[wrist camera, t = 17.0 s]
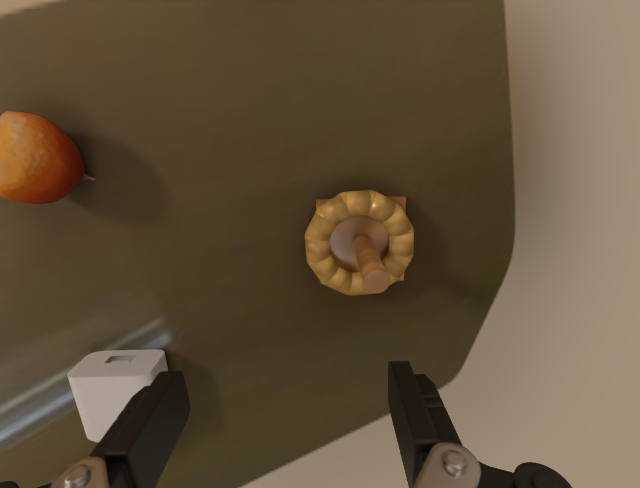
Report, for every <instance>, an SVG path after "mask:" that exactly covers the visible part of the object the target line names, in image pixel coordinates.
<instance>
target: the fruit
mask: <svg viewBox="0 0 640 488" xmlns="http://www.w3.org/2000/svg"><path fill="white" fill-rule="evenodd" d="M84 171H85V164H84V161H83V159H82V156H81V154H80V151H79V150H78V148H77V146H76V145H75V144H74V143H73V142H72V141H71V139H70V138H69V137H68V136H67V135H66V134H65V133H64V132H63V131H61V130H60V129H59V128H58V127H57V126H56V125H55V124H54V123H52V122H51V121H49V120H47V119H46V118H44V117H41V116H38V115H35V114H31V113H25V112H14V111H7V112H4V113H3V114H2V115H1V116H0V195H1V196H3V197H5V198H7V199H10V200H13V201H18V202H24V203H32V204H43V203H51V202H55V201H57V200H59V199H61V198H63V197H64V196H65V195H66V194H67V193H69V192H70V191H71V190H72V189H73V188H75V187H76V186H78V185H79V184H80V183H82V182H83V181H84V180H86V179H90V180H94V181H95V180H96V179H95V178H92V177H90V176H88V175H86V174H85V172H84Z"/></svg>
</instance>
